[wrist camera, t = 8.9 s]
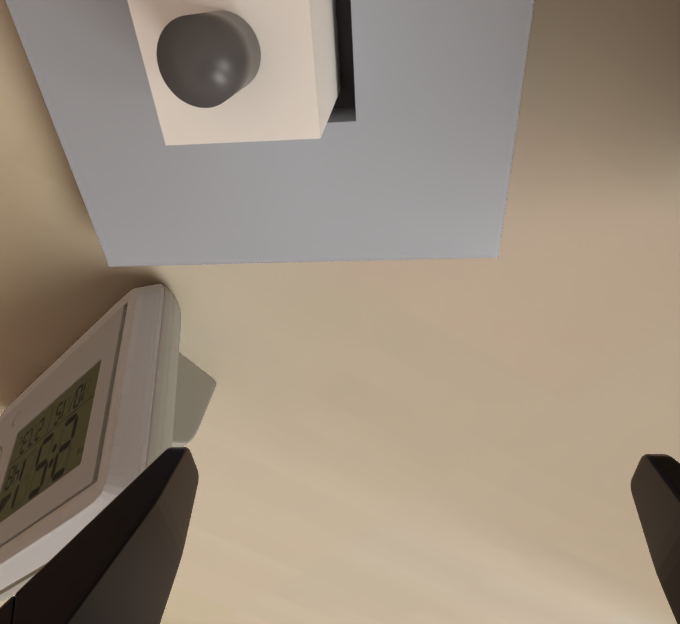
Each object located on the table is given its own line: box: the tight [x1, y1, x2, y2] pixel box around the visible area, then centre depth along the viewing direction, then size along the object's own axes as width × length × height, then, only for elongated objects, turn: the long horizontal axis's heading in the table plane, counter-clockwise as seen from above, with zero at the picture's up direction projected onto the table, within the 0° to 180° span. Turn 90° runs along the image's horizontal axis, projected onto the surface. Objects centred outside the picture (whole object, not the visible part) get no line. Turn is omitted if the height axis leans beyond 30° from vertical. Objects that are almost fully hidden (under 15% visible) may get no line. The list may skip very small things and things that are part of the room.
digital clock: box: [0, 284, 216, 601], centre depth 23 cm, size 16×9×11 cm, turn 120°
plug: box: [127, 0, 341, 146], centre depth 13 cm, size 4×4×9 cm
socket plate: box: [5, 0, 534, 267], centre depth 16 cm, size 16×16×2 cm
